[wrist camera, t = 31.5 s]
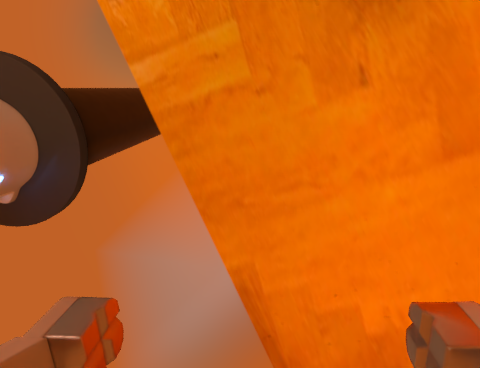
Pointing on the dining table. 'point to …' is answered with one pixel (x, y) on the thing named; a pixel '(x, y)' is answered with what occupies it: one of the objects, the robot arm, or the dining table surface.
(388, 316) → the dining table surface
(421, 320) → the robot arm
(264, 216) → the dining table surface
